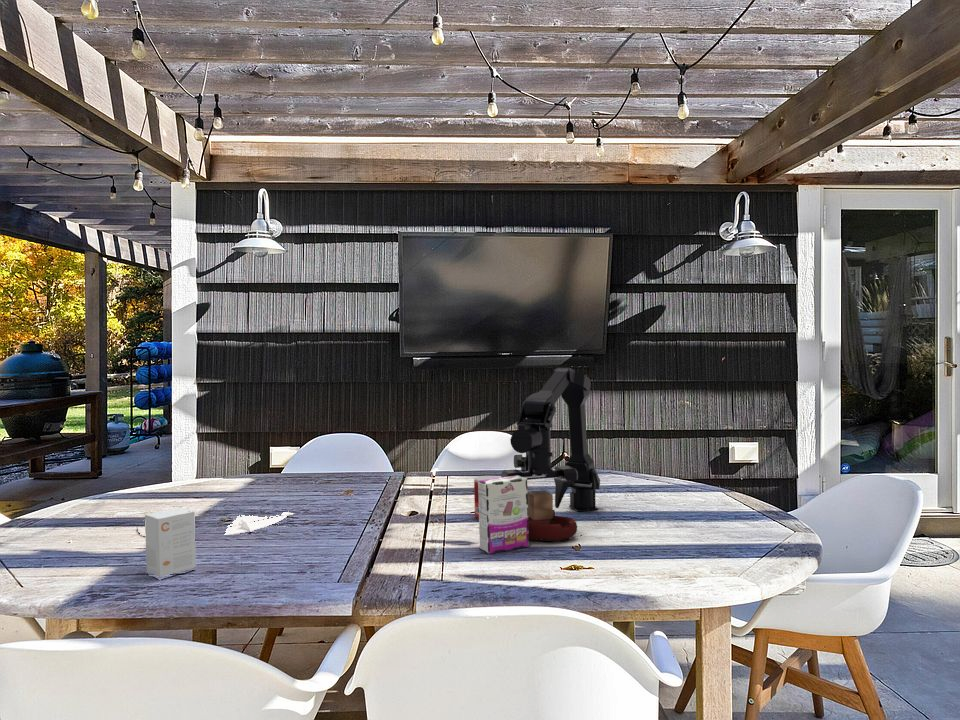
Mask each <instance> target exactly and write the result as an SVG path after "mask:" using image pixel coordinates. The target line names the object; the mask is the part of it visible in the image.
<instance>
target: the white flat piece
mask: <svg viewBox="0 0 960 720" xmlns="http://www.w3.org/2000/svg"><path fill="white" fill-rule="evenodd" d="M293 514H294V515H295V513H294V512H289V511H288V512H283V513H282V514H281V516H279V515H276V516H278V517H276V516H270V517H269V519H267V518H268V517H267V516H265V517H258V516H253V515H252V516H250V515H249V516H245V515H241V516H242V517H240V515H239V516H237V518H236V520H234V521H233V522H232V523H233V524H230V525H228V526H227V527H228V528H227V529H226V531H225V532H226V533H225V534H224V535H234V534H240V533H245V532H249V531H250V532H252V531H254V530H257V529H260V528H264V527H267V526H269V525H272V524H275V523H277V522H279V521H281V520H283V519H284V518H286V517H287V516H289V515H293ZM271 517H273V518H271ZM263 519H264V520H263ZM258 520H259V521H258ZM254 521H255V522H254ZM230 526H232V527H230Z"/></svg>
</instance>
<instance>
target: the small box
mask: <svg viewBox="0 0 960 720" xmlns="http://www.w3.org/2000/svg"><path fill="white" fill-rule="evenodd" d="M144 520H145V534H146V538H145V560H146V561H145V562H146V572H147V571H148V572H150V573H152V574H154V575H156V576H159V577H161V576H165V575H170V574H173V573H177V572H181V571H185V570H188V569H191V568H194V567H196V568H197V549H196V548H197V547H196V546H197V543H196V542H197V541H195V511H192V510H189V509H186V507H176V508H172V509H166V510H161V511H156V512H151V513H146V514H144Z"/></svg>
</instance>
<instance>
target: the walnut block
mask: <svg viewBox="0 0 960 720" xmlns="http://www.w3.org/2000/svg"><path fill="white" fill-rule="evenodd" d="M553 495H554V494H553V493H551V492H549V491H547V490H533V491H528V516H529V517H530V518H532V519H533V520H541V519H551V518H553V510H554V508H553V507H554V505H553V503H554V501H553V499H554V497H553Z"/></svg>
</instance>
